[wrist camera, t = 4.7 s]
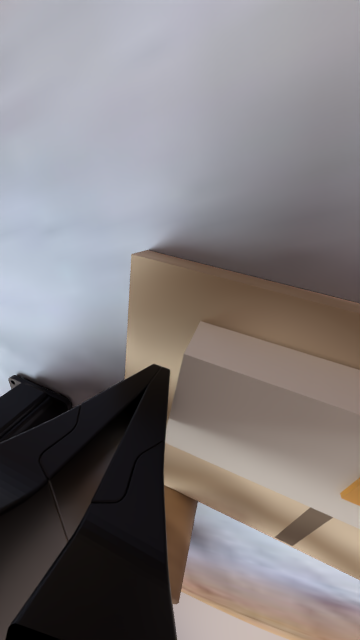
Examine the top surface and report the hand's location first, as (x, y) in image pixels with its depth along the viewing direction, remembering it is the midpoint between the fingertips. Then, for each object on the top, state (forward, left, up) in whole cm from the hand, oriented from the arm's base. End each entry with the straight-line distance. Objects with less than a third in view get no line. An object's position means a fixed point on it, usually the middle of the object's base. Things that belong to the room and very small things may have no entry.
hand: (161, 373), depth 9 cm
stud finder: (0, -5, -1) cm, 5 cm away
